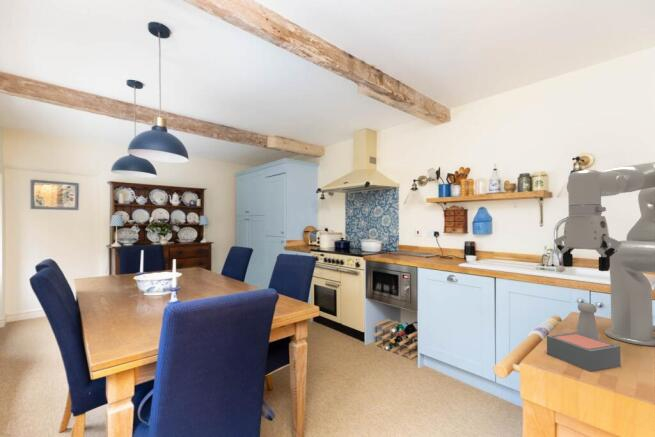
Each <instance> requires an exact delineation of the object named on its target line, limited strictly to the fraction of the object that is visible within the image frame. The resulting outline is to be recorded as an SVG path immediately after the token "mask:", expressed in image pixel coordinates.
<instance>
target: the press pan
mask: <svg viewBox="0 0 655 437" xmlns="http://www.w3.org/2000/svg"><path fill="white" fill-rule="evenodd" d="M554 338H557V339H560V340H563V341H566V342H569V343H572V344H575V345H578V346H580V347H583V348H586V349H589V350H590V349H596V348H602V347H609V346H612V345H610V344H607V343H603V342H600V341H597V340H594V339H591V338H587V337H584V336H581V335H578V334H571V335H564V336H556V337H554Z"/></svg>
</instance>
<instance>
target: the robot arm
mask: <svg viewBox="0 0 655 437" xmlns="http://www.w3.org/2000/svg"><path fill="white" fill-rule="evenodd" d="M567 180H568V181H567V184H566V190H567V193H568V196H567V198H568V216H566V219H565V222H564V229H563V235H561V236H560V237H557V238H555V239H554V243H555V246H556V248H557V250H559V252H560V254H562V266H563V267H565V268H571V267H573V266H574V262H573V260H574V259H573V253H572V252H573V250H575V249H576V250H577V249H578V250H589V251H590V250H595V251H596V252H597V253H598V254H599V255H600V256H598V271H599V272H609V277H610V278H609V279H610V323H611V324H610V325H611V326H610V328H607V329H605V330H604V334H605V335H606V336H607V337H609V338H612V339H614V340H617V341H619V342H620V341H621V342H624V343H628V344H634V345H641V346H647V347H649V346H651V347H653V346H654V347H655V336H654V333H655V325H653V323H654V322H653V315H654V314H653V287H652V284H651V282H650V280H649V279H648V277H647V276H646V275H645V274H644V273H643V272H645V273H646V272H647V273H655V161H654V162H653V161H652V162H647V163H645V162H644V163H640V164H634V165H633V164H632V165H627V166H621V167H616V168H610V169H606V170H603V171H601V170H600V171H599V170H597V169H596V170H595V169H585V170H582V169H581V170H576V171H575V170H574V171H572V172H571V173H569V175H568V177H567ZM636 191H639V192H638V194H637V196H638V197H637V202H638V206H639V211H640V218H639V219H638V220H637V221H636V223H635V224H634V225H633V226H632V227H631V228H630V230H629V231H628V232H627V234H626V238H625V239H626V240H617V239H616V238H615V239H614V238H613V237H611V236H610V235H609V226H608V223H607V220H606V216H605V215H602V214H603V213H604V212H606V211H607V207H606V206H602V197H610V196H617V195H619V194H623V193H624V194H625V193H633V192H636Z"/></svg>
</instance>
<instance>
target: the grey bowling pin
mask: <svg viewBox="0 0 655 437" xmlns="http://www.w3.org/2000/svg"><path fill="white" fill-rule="evenodd" d="M577 309H578V311H579V316H578V321H577V326H576V330H575V333H579V334H582V335H585V336H588V337H591V338H595V339H598V340H601V338H600V334H599V330H598V326H597V321H596V317H595V316H596V315H595V313H597V306H596V305H595V304H594V303H589V302H579V303H578V305H577Z"/></svg>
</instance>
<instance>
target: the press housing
mask: <svg viewBox="0 0 655 437" xmlns="http://www.w3.org/2000/svg"><path fill="white" fill-rule="evenodd" d="M571 334H578V335H581V336H584V337H587V338H591V337H588V336H585V335H582V334H579V333H576V331H575V332H574V331H573V332H566V333H560V334H559V333H557V334H551V335H546V354H547V355H549V356H552V357H555V358H557V359H559V360H561V361H564V362H566V363H568V364H571V365H574V366H576V367H579V368H581V369H583V370H586V371H588V372H595V371H601V370H608V369H610V368H611V369H613V368H617V367H621V346H620V345H617V344H613V343H610V342H608V341H604V340H601V339H600V340H598V339H595V338H591V339H594V340H597V341H600V342H603V343H607V344H610V345H612V346H609V347H602V348H596V349H590V350H589V349H586V348H583V347H580V346H578V345H575V344H572V343H569V342H566V341H563V340H560V339H557V338H554V337H556V336H564V335H571Z"/></svg>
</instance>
